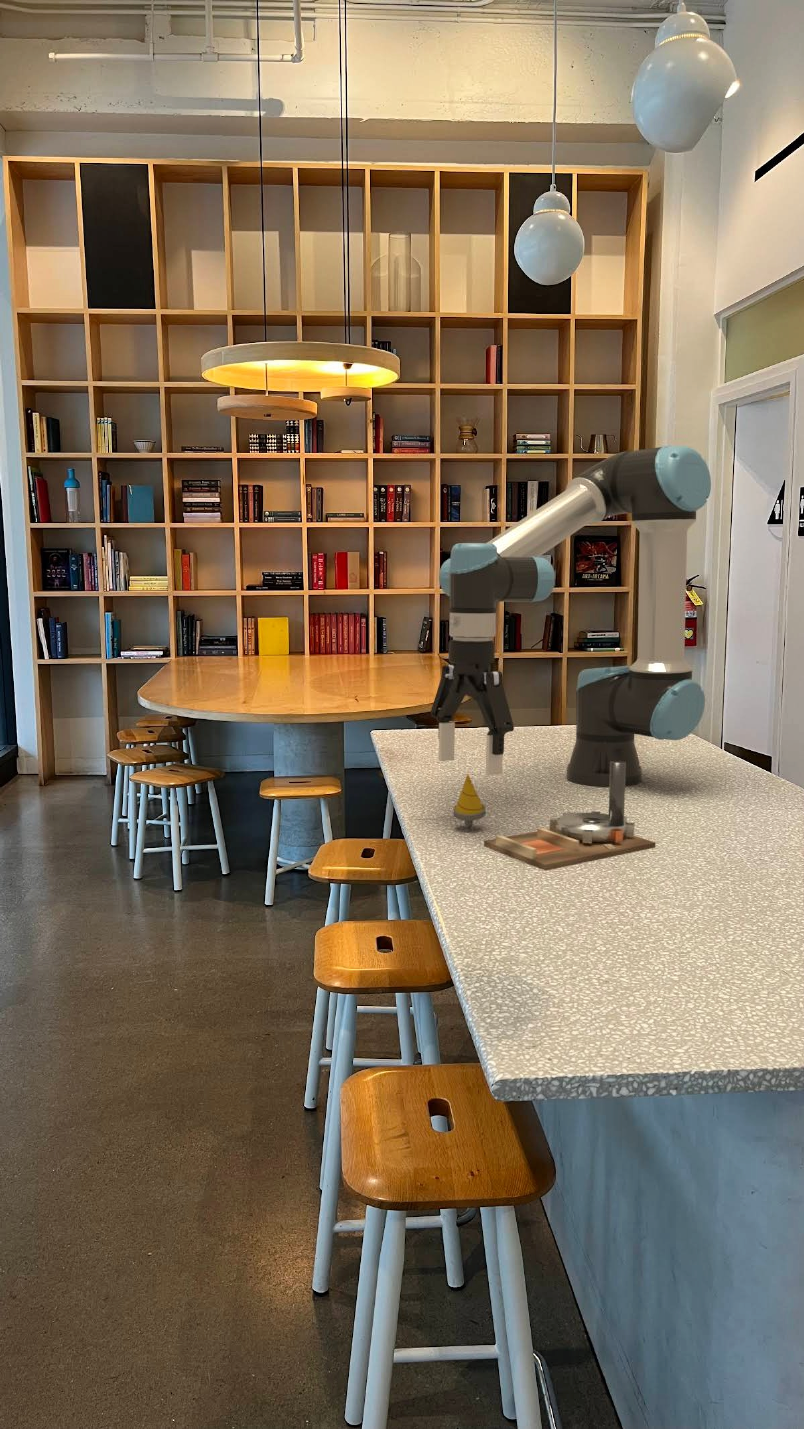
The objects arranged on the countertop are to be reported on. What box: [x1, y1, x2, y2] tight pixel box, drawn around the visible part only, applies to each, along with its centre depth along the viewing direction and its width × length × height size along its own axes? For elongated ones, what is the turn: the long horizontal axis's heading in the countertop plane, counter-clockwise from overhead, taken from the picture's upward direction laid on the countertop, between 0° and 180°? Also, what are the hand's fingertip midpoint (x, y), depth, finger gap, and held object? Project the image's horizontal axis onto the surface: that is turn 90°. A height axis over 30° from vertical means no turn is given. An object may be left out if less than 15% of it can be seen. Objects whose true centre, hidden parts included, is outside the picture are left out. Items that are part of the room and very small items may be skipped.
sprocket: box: [549, 761, 635, 843], centre depth 162 cm, size 13×13×12 cm
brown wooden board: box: [483, 827, 656, 871], centre depth 159 cm, size 15×22×2 cm
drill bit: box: [453, 774, 487, 829], centre depth 169 cm, size 5×5×10 cm
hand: (469, 767), depth 169 cm, fingers open, 13 cm apart
